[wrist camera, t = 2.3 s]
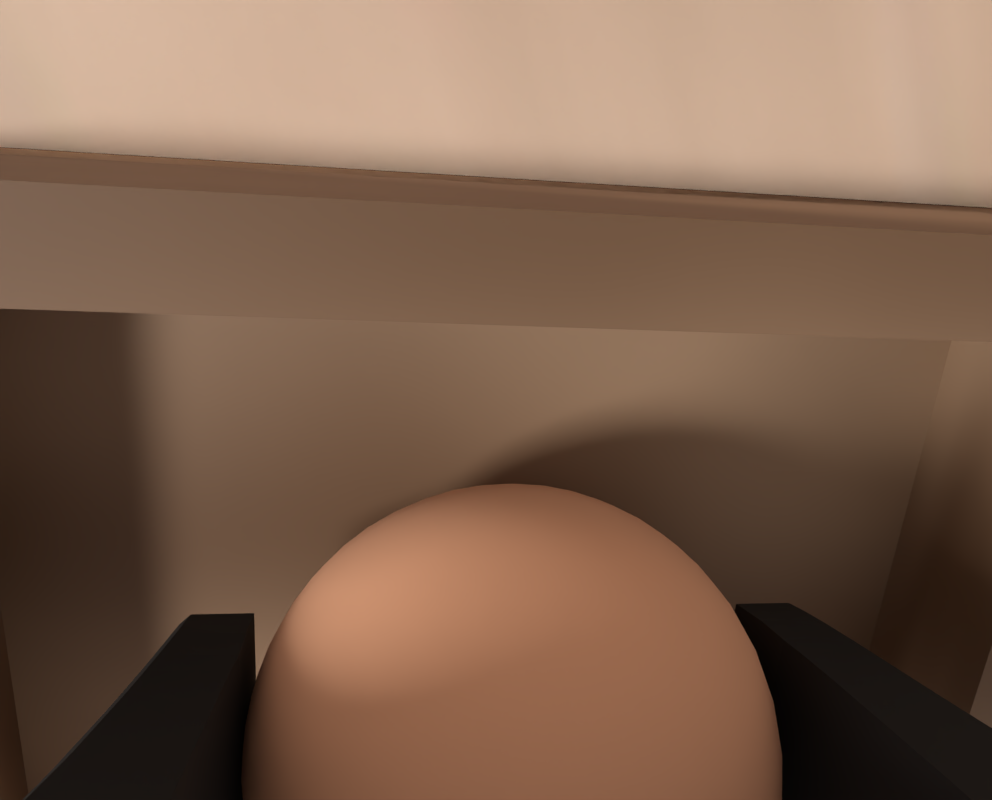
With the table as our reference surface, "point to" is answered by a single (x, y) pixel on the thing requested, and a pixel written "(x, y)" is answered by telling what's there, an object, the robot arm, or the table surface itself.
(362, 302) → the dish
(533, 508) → the brown egg
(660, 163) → the table surface
